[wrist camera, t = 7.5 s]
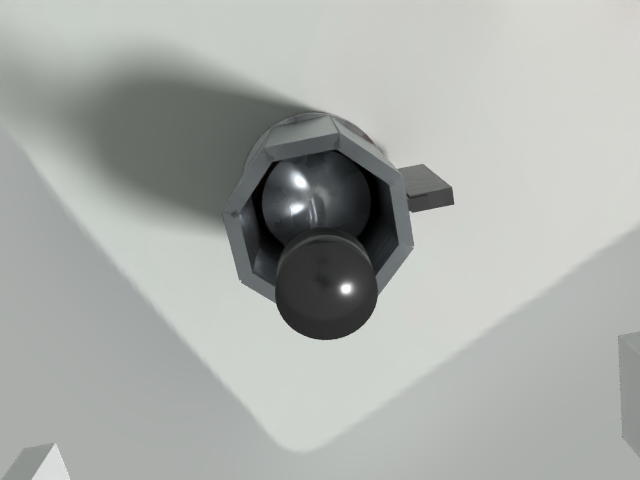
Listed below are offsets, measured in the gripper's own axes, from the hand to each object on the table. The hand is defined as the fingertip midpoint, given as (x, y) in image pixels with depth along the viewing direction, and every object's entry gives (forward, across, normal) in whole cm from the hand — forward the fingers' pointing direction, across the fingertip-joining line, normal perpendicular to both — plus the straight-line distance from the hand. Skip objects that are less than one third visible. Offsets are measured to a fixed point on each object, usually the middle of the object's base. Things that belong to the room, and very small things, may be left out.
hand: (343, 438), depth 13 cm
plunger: (+25, 0, 0) cm, 25 cm away
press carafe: (+30, +1, 0) cm, 30 cm away
